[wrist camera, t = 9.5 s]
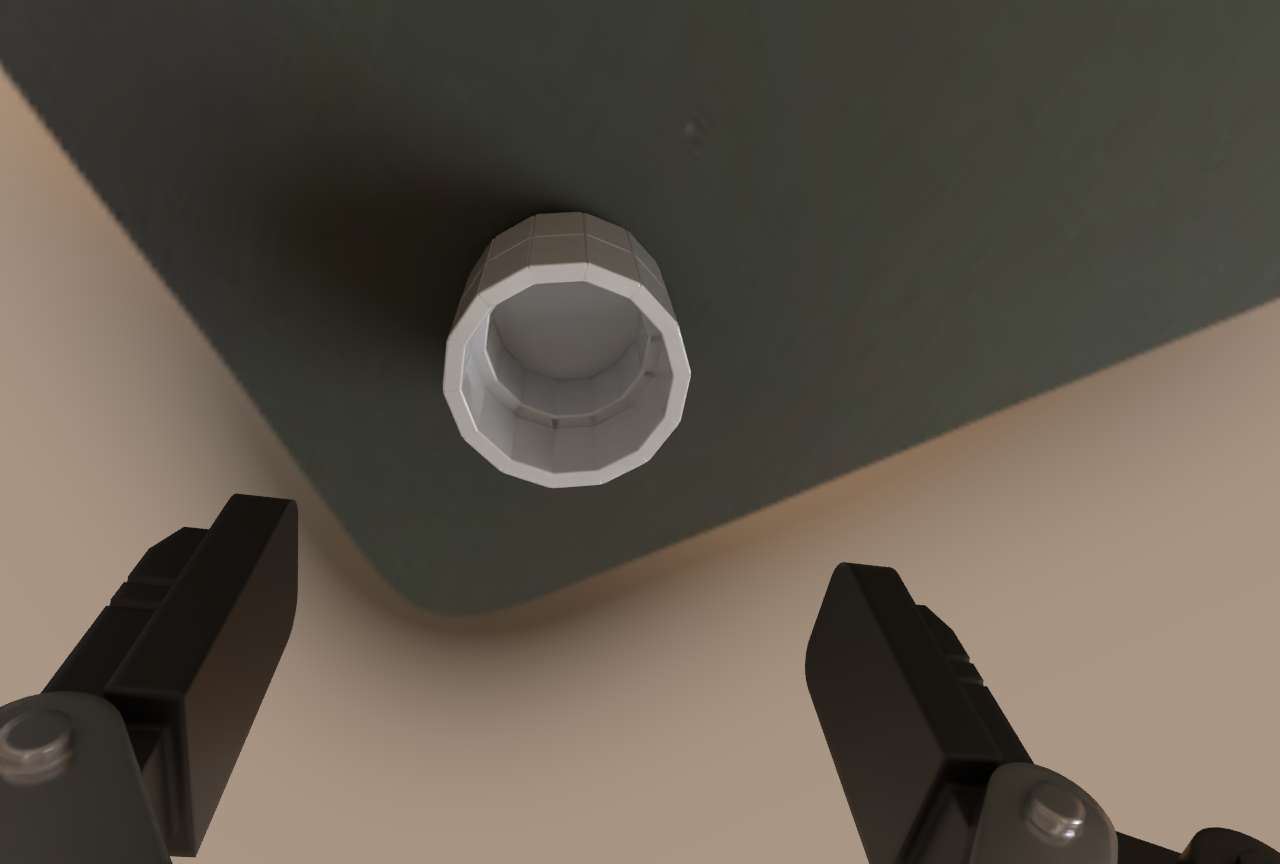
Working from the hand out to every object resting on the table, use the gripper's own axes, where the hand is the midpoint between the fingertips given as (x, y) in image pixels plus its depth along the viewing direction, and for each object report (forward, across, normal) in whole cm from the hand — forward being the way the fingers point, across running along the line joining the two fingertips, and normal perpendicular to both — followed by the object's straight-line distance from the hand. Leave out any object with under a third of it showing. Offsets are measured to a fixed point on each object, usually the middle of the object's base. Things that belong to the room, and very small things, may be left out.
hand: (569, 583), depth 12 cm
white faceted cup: (+12, 0, 0) cm, 12 cm away
